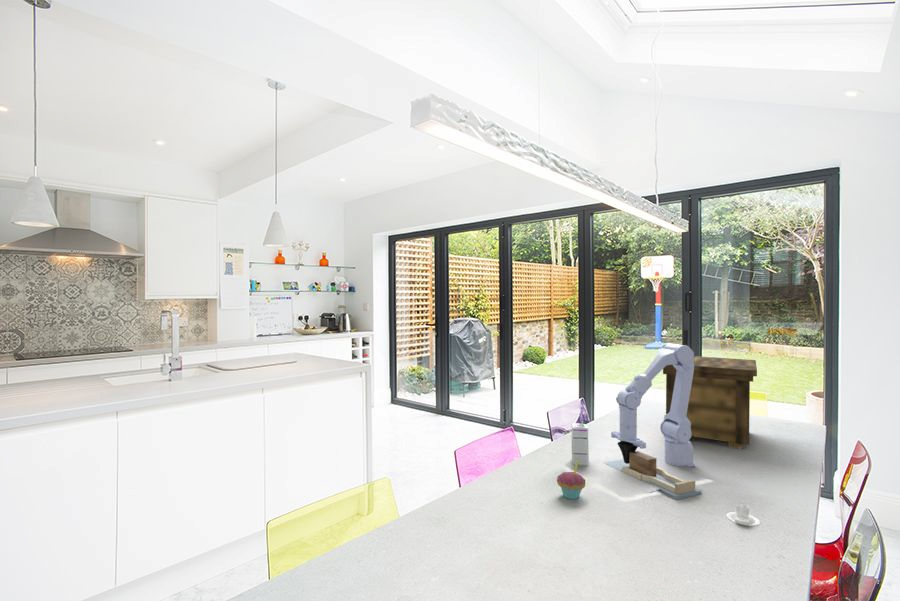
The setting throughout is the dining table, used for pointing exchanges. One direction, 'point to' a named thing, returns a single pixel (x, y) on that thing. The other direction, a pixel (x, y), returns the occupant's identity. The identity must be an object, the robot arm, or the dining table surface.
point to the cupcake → (571, 483)
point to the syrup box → (580, 444)
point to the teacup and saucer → (742, 515)
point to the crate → (717, 398)
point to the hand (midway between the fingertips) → (627, 462)
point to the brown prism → (642, 463)
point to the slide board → (661, 481)
